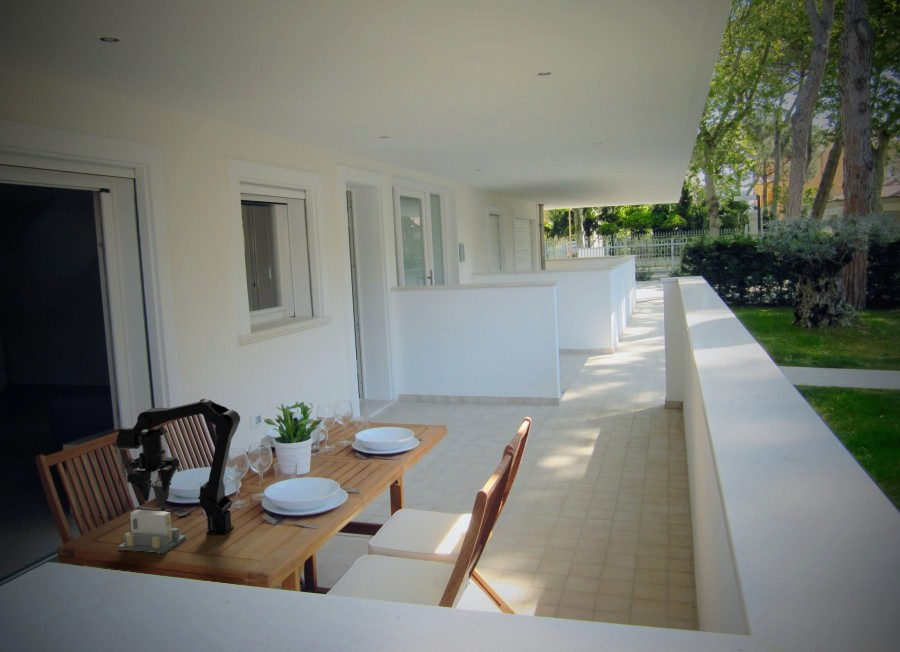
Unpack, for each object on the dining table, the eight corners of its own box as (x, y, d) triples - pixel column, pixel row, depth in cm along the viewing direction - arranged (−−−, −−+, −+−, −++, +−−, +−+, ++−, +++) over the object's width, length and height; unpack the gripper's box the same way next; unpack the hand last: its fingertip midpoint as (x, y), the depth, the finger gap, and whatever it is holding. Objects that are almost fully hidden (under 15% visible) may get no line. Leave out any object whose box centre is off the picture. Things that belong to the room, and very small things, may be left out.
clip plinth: (186, 539, 219) (185, 526, 218) (163, 553, 208) (162, 540, 208) (142, 535, 223) (141, 523, 222) (118, 550, 212) (117, 536, 212)
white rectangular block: (174, 540, 215) (172, 511, 214) (166, 545, 212) (164, 516, 211) (138, 537, 218) (136, 509, 218) (130, 542, 215) (128, 514, 214)
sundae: (166, 516, 240) (163, 473, 238) (149, 515, 241) (145, 473, 240) (177, 509, 246) (174, 467, 245) (160, 508, 248) (157, 467, 246)
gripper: (149, 440, 234) (153, 485, 236) (110, 455, 216) (114, 504, 218) (178, 441, 231) (182, 486, 233) (141, 456, 213) (144, 506, 215)
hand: (155, 495), depth 225 cm, fingers open, 9 cm apart
